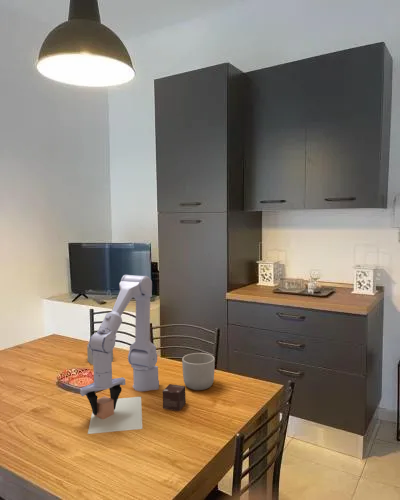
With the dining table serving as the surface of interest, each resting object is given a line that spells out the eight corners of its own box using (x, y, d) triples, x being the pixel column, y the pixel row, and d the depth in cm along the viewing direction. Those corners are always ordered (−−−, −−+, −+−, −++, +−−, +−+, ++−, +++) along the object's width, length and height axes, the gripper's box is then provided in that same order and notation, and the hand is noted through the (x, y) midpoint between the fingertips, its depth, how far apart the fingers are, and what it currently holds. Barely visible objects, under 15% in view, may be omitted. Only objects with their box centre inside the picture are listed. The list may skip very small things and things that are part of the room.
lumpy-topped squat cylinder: (92, 366, 176) (92, 346, 175) (84, 357, 187) (83, 339, 186) (115, 361, 182) (115, 342, 181) (105, 353, 192) (105, 335, 192)
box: (186, 406, 138) (185, 385, 137) (179, 414, 132) (179, 393, 131) (169, 404, 140) (169, 383, 139) (162, 412, 134) (162, 390, 133)
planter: (178, 390, 150) (177, 362, 149) (188, 378, 162) (187, 351, 161) (210, 394, 147) (210, 365, 146) (218, 381, 159) (217, 354, 158)
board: (141, 399, 143) (140, 387, 142) (142, 432, 121) (142, 417, 121) (94, 403, 140) (94, 390, 140) (87, 437, 119) (87, 422, 118)
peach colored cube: (104, 410, 133) (104, 396, 133) (114, 413, 130) (113, 399, 130) (94, 415, 129) (93, 401, 129) (103, 419, 127) (102, 404, 127)
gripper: (118, 361, 136) (119, 400, 137) (76, 371, 128) (77, 412, 129) (127, 367, 130) (128, 408, 132) (83, 378, 122) (85, 421, 123)
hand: (104, 411), depth 130 cm, fingers closed on peach colored cube, 5 cm apart
